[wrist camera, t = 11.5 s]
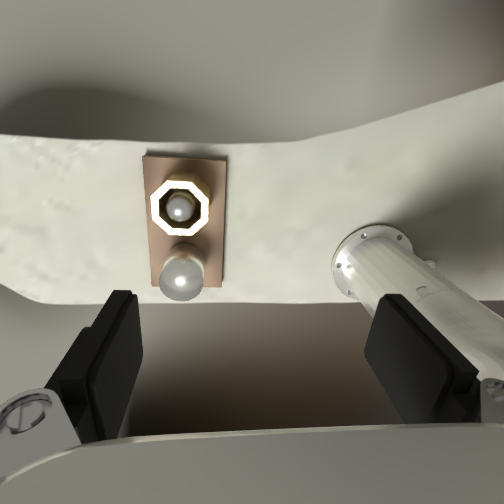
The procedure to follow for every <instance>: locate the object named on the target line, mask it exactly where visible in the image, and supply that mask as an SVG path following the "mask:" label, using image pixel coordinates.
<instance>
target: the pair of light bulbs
mask: <svg viewBox="0 0 504 504" xmlns="http://www.w3.org/2000/svg"><path fill="white" fill-rule="evenodd" d="M196 201H197V197H196V196H195V195H194V194H193V193H192V192H191V191H190V189H185V188H176V189H175V190H174V192H173V193H172V195H171V196H170V198H169V200H168V201H167V204H166V211H167V214H168V215H169V217H170V218H171V219H173V220H175V221H178V222H182V221H186V220H188V219H189V218H190V217H191V216H192V214H193V212H194V208H195V205H196ZM204 269H205V254H204V252H203V251H202V249H201V248H200V247H199V246H197V245H195V244H193V243H189V242H182V243H178V244H176V245H174V246H173V247H172V248H171V249H170V251H169V253H168V256H167V258H166V261H165V263H164V266H163V269H162V271H161V274H160V277H159V287H160V289H161V291H162V292H163V294H164V295H166V296H167V297H168V298H170V299H172V300H176V301H188V300H191V299H193V298H195V297H196V296H197V295H198V294H199V293H200V291H201V290H202V286H203V278H204Z"/></svg>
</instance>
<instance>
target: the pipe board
mask: <svg viewBox="0 0 504 504" xmlns="http://www.w3.org/2000/svg"><path fill="white" fill-rule="evenodd" d="M142 161H143V175H144V188H145V201H146V215H147V228H148V241H149V254H150V268H151V281H152V286H159V277H160V274H161V271H162V269H163V266H164V263H165V261H166V258H167V256H168V253H169V251H170V249H171V248H172V247H173V246H174V245H176V244H178V243H182V242H189V243H193V244H195V245H197V246H199V247H200V248H201V249H202V251H203V252H204V254H205V269H204V278H203V286H202V287H222V261H223V235H224V208H225V181H226V160H215V159H199V158H184V157H168V156H153V155H144V156H142ZM175 171H181V172H196V173H197V174H198V175H199V176H200V177H201V178H202V179H203V180H204V182H205V183H206V184H207V185H208V186H209V187H210V210H209V218H208V222H206V223H205V224H204V225H203V226H202V227H201V228H199V229H198V230H197V231H196V232H195V233H194V234H193V235H171V234H169V233H167V232H166V231H165V230H164V229H163V228H162V227H161V226H160V225H159V224H158V223H156V222H155V221H154V220H153V219H152V204H151V195H152V194H153V193H154V192H155V191H156V190H157V189H158V187H159V186H160V185H161V184H163V183H164V182H165V181H166V180H167V179H168V178H169V177H170V176H171V175H172V174H173V173H174V172H175ZM175 189H176V188H170V189H168V190H167V194H168V200H169V198H170V196H171V195H172V193H173V192H174V190H175ZM200 207H201V201H200V200H199V199H198V198H197V201H196V205H195V208H194V212H193V213H195V212H196V211H197V210H198V209H199V208H200Z"/></svg>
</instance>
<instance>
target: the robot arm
mask: <svg viewBox="0 0 504 504" xmlns="http://www.w3.org/2000/svg"><path fill="white" fill-rule="evenodd" d="M435 266H436V264H435V262H434V261H430V260H424V261H423V260H421V259H420V258H419V257H417V256H416V255H415V254H414V253H413V248H412V244H411V242H410V241H409V239H408V238H407V237H406V236H405V235H404V234H403V233H402V232H400V231H399V230H397V229H395V228H393V227H390V226H386V225H375V226H369V227H366V228H363V229H360V230H358V231H356V232H355V233H353V234H352V235H350V236H349V237H348V238H347V239H346V240H345V241H344V242H343V243H342V244H341V245H340V247H339V248H338V249H337V251H336V253H335V255H334V258H333V262H332V270H331V271H332V277H333V280H334V282H335V284H336V286H337V287H338V289H339V290H340V291H341V292H342V293H343V294H345V295H346V296H348V297H350V298H353V299H356V300H360V301H361V302H362V304H363V305H364V306H365V308H366V309H367V310H368V312H369V313H370V314H371V316H372V317H373V318H374V319H373V322H372V325H371V329H370V332H369V335H368V339H367V342H366V346H365V349H364V354H365V358H366V359H367V361H368V363H369V365H370V366H371V368H372V370H373V371H374V373H375V375H376V376H377V378H378V380H379V381H380V383H381V385H382V386H383V388H384V390H385V392H386V393H387V395H388V397H389V398H390V400H391V402H392V403H393V405H394V407H395V408H396V410H397V412H398V413H399V415H400V417H401V419H402V420H403V422H404V423H405V424H399V425H373V426H372V425H371V426H344V427H319V428H298V429H297V428H295V429H274V430H273V429H272V430H251V431H231V432H230V431H229V432H209V433H190V434H189V433H188V434H172V435H157V436H141V437H129V438H121V439H117V436H118V433H119V430H120V427H121V424H122V421H123V418H124V415H125V412H126V408H127V406H128V403H129V400H130V396H131V393H132V390H133V387H134V384H135V381H136V378H137V375H138V372H139V368H140V366H141V362H142V358H143V347H142V337H141V327H140V317H139V307H138V298H137V295H136V294H132V292H131V290H114V291H113V292H112V293H111V295H110V297H109V298H108V300H107V301H106V303H105V305H104V306H103V308H102V309H101V311H100V313H99V314H98V316H97V318H96V319H95V321H94V322H93V324H92V326H91V327H85V328H83V329H82V331H81V332H80V333H79V335H78V337H77V338H76V340H75V341H74V343H73V344H72V346H71V347H70V349H69V350H68V352H67V353H66V355H65V356H64V358H63V360H62V361H61V362H60V364H59V366H58V367H57V369H56V370H55V372H54V373H53V375H52V377H51V378H50V379H49V381H48V383H47V384H46V386H45V387H44V389H42V388H38V389H33V390H28V391H25V392H23V393H20V394H18V395H16V396H14V397H12V398H10V399H9V400H7V401H6V402H5V403H3V404H2V405H1V406H0V504H504V319H503V318H502V317H500V316H499V315H497V314H496V313H494V312H492V311H491V310H490V309H488V308H487V307H485V306H484V305H483V304H481V303H480V302H478V301H477V300H476V299H474V298H473V297H471V296H470V295H468V294H467V293H466V292H464V291H463V290H462V289H460V288H459V287H457V286H456V285H455V284H453V283H452V282H451V281H449V280H448V279H446V278H445V277H444V276H442V275H441V274H440V273H438V272H437V271H435V270H434V268H435Z"/></svg>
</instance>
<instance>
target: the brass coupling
mask: <svg viewBox="0 0 504 504" xmlns="http://www.w3.org/2000/svg"><path fill="white" fill-rule="evenodd" d="M170 188H185V189H190V191H191V192H192V193H193V194H194V195H195V196H196V197H197V198H198V199H199V200H200V201H201V207H200V208H199V209H198V210H197V211H196V212H195V213H193V214H192V216H191V217H190V218H189V219H188V220H186V221H182V222H178V221H175V220H173V219H171V218H170V217H169V215H168V214H167V211H166V204H167V201H168V194H167V190H168V189H170ZM151 204H152V219H153V220H154V221H155V222H156V223H158V224H159V225H160V226H161V227H162V228H163V229H164V230H165V231H166V232H167V233H169V234H171V235H193V234H194V233H195V232H196V231H197V230H198V229H199V228H201V227H202V226H203V225H204V224H205V223H206V222H208V218H209V210H210V187H209V186H208V185H207V184H206V183H205V182H204V180H203V179H202V178H201V177H200V176H199V175H198V174H197V173H196V172H181V171H175V172H174V173H173V174H172V175H171V176H170V177H169V178H168V179H167V180H166V181H165V182H164V183H163V184H161V185H160V186H159V187H158V189H157V190H156V191H155V192H154V193H153V194H152V195H151Z"/></svg>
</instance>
